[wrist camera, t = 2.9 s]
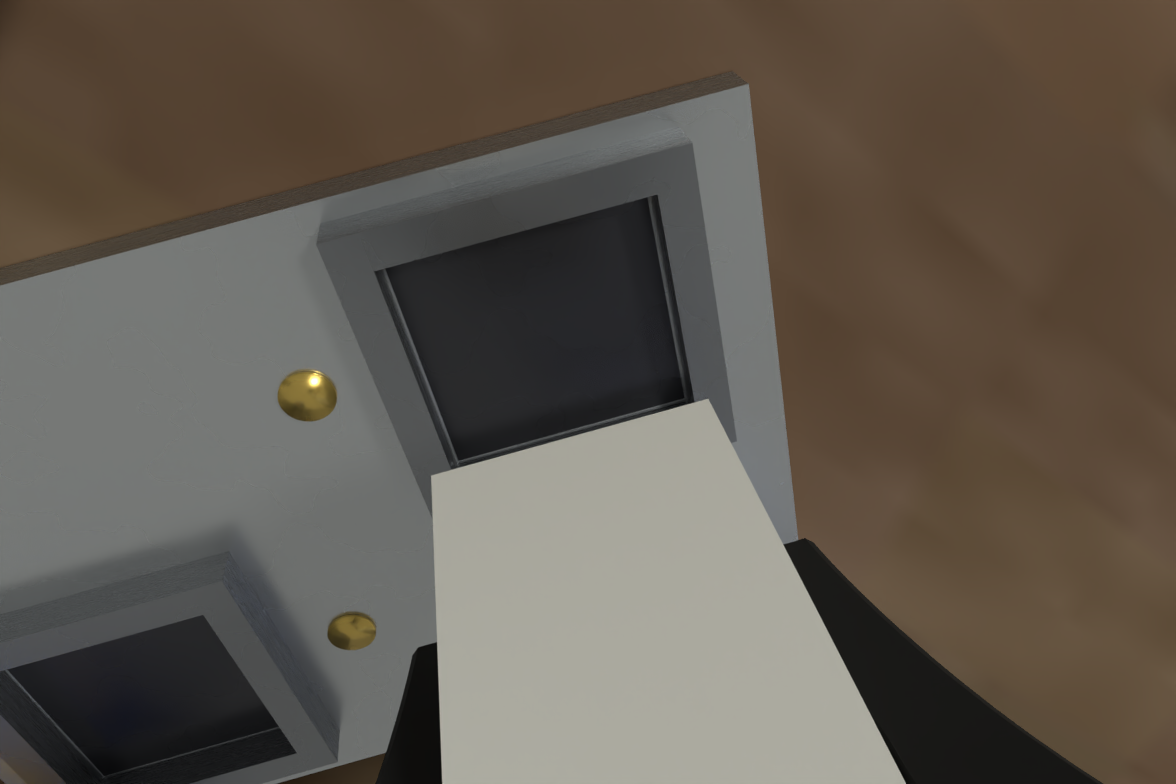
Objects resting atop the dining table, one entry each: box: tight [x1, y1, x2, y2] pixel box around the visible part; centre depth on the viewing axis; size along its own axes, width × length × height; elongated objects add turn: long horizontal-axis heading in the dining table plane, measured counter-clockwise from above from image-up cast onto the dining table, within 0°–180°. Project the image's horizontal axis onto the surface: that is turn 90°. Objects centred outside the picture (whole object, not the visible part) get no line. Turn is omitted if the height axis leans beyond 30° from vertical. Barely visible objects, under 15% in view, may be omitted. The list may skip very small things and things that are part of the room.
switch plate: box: [0, 71, 798, 784], centre depth 21 cm, size 16×22×2 cm
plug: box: [431, 399, 906, 784], centre depth 11 cm, size 4×4×7 cm
